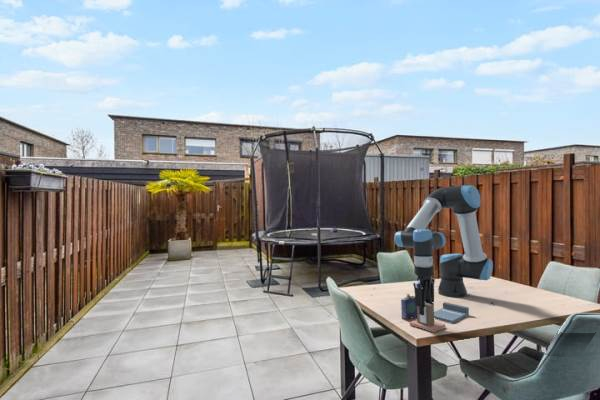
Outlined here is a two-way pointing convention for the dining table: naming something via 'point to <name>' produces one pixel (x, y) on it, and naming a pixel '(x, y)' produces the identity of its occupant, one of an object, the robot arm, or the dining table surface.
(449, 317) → the blue tray
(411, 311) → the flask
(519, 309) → the dining table surface
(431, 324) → the upright panel on base
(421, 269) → the robot arm
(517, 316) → the dining table surface
